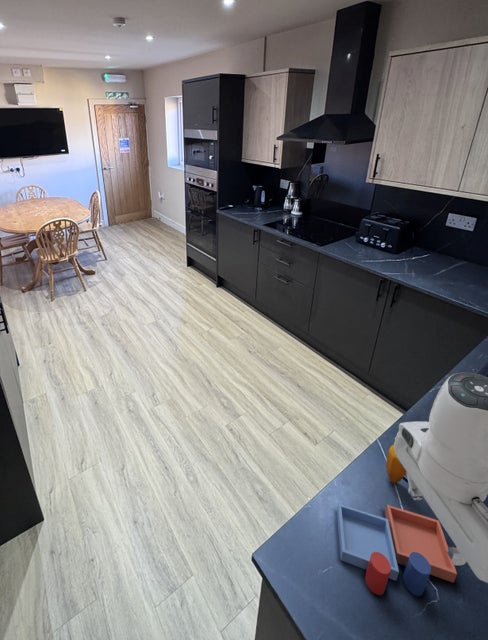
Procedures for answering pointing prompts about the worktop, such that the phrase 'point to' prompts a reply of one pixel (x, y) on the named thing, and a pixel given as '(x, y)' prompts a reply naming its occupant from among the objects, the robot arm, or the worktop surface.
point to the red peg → (377, 573)
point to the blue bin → (364, 538)
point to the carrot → (394, 466)
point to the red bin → (420, 541)
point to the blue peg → (416, 573)
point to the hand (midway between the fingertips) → (433, 525)
